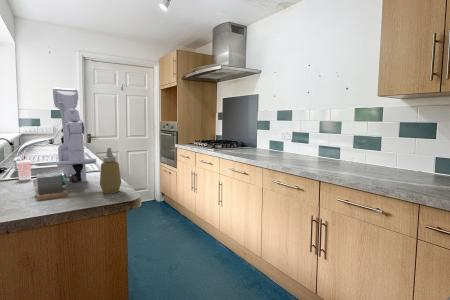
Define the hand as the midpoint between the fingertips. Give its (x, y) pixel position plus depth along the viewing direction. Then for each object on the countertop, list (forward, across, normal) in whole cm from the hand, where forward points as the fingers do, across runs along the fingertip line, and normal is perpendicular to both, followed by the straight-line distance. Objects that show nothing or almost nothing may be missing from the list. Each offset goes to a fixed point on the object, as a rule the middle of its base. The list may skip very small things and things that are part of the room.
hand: (78, 181), depth 115 cm
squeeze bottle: (+3, +10, -14) cm, 17 cm away
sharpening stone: (+3, -10, 0) cm, 11 cm away
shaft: (+1, -8, 0) cm, 8 cm away
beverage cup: (+3, -18, +36) cm, 41 cm away
